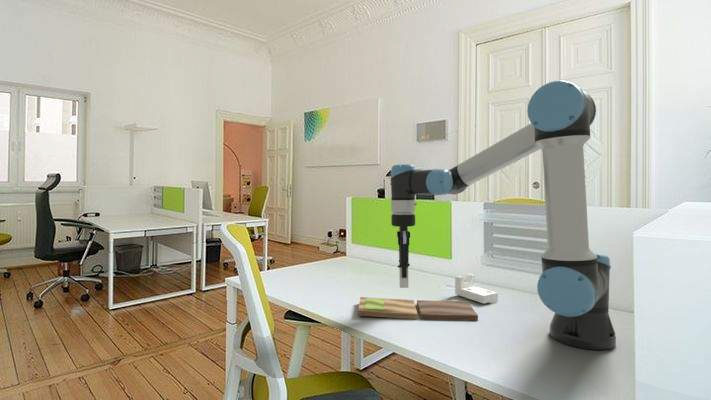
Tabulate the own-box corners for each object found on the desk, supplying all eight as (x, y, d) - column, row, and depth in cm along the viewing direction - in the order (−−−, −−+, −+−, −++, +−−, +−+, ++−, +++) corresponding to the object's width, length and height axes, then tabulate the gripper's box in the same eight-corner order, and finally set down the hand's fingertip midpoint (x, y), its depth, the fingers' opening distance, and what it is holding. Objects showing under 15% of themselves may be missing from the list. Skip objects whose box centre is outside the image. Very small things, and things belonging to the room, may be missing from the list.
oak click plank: (417, 319, 117) (417, 313, 117) (358, 315, 118) (358, 309, 118) (413, 304, 131) (413, 299, 131) (360, 301, 132) (360, 296, 132)
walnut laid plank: (477, 320, 116) (478, 315, 116) (421, 319, 117) (421, 314, 117) (467, 305, 130) (467, 301, 130) (416, 304, 131) (416, 300, 131)
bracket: (455, 296, 142) (455, 276, 141) (468, 293, 145) (468, 273, 145) (483, 306, 131) (484, 284, 130) (497, 302, 134) (497, 281, 134)
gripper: (417, 214, 117) (417, 292, 117) (413, 212, 130) (414, 282, 130) (392, 215, 117) (392, 292, 118) (390, 212, 130) (391, 282, 131)
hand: (404, 287), depth 124 cm, fingers closed
